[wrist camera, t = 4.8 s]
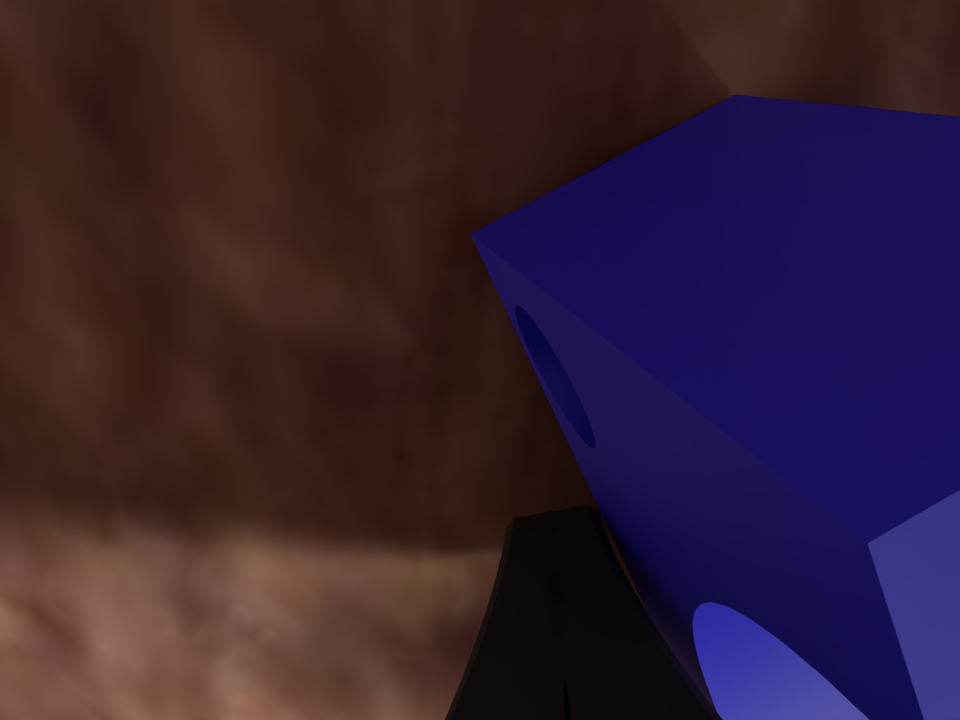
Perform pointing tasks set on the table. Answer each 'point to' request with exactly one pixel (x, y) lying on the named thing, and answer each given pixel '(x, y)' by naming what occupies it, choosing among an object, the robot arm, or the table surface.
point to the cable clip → (766, 394)
